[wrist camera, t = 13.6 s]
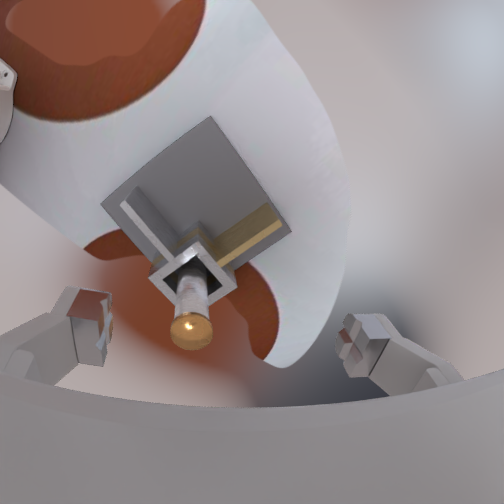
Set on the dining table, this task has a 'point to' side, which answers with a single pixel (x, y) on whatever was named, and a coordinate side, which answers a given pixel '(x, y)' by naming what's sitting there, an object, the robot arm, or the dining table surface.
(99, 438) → the robot arm
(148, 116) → the dining table surface
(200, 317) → the hinge pin
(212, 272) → the hinge
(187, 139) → the base board
